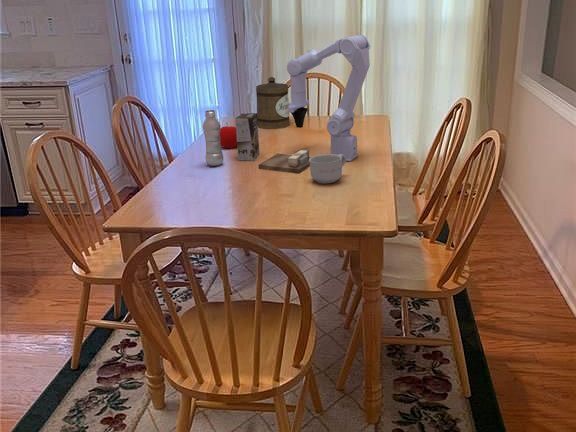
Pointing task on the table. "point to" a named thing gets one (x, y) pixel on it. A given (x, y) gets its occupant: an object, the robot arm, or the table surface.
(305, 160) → the stool seat panel
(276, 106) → the wooden container
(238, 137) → the coffee box
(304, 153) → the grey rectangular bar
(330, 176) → the teacup
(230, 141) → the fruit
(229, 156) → the table surface
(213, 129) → the plastic bottle
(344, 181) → the table surface
